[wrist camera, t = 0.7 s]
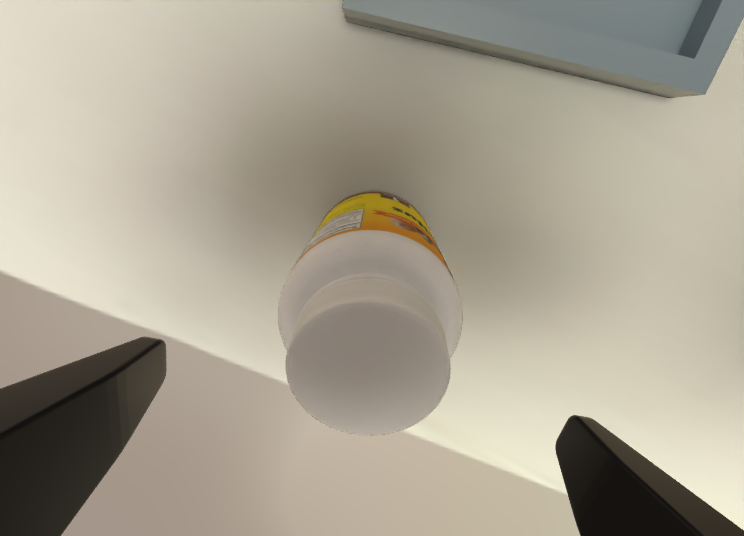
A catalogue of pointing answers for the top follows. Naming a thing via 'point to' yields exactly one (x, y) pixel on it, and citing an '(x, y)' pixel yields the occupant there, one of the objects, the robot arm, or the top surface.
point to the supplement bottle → (370, 318)
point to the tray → (577, 35)
